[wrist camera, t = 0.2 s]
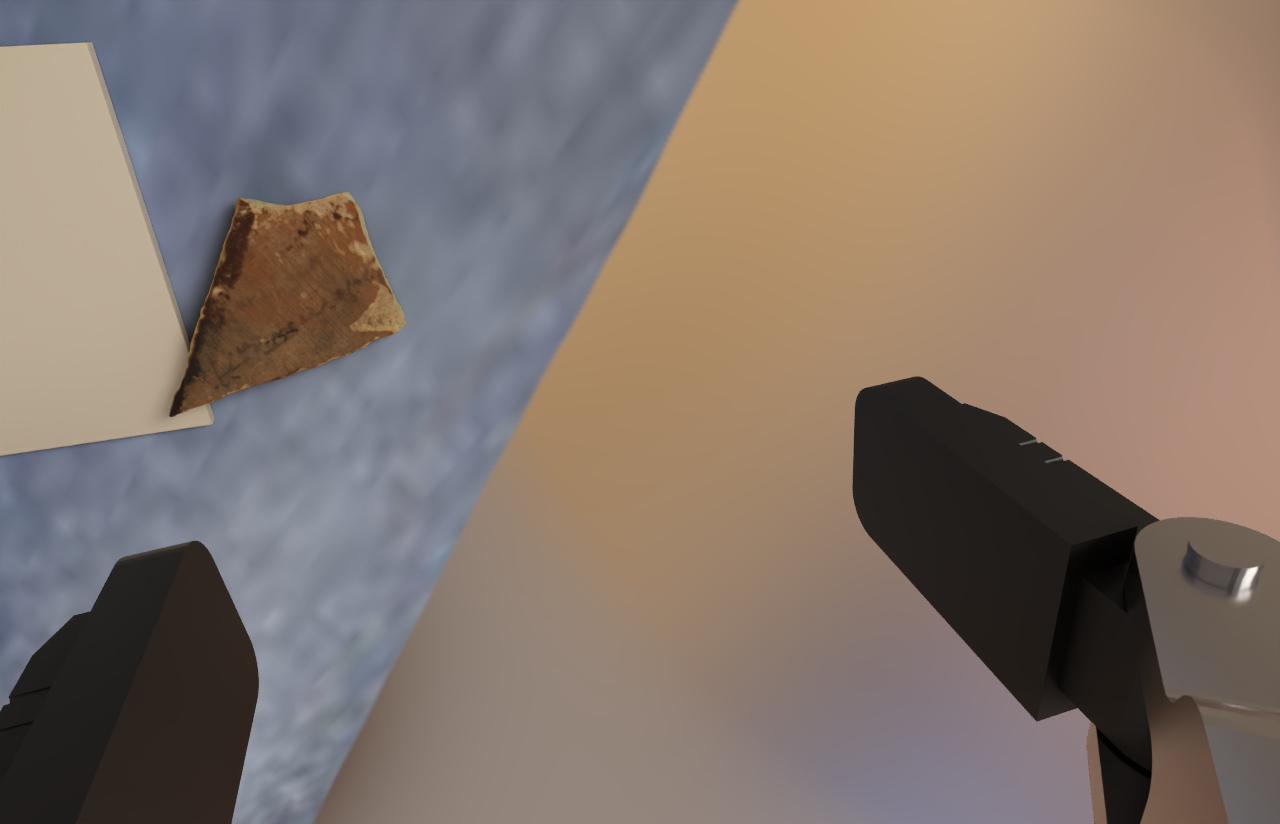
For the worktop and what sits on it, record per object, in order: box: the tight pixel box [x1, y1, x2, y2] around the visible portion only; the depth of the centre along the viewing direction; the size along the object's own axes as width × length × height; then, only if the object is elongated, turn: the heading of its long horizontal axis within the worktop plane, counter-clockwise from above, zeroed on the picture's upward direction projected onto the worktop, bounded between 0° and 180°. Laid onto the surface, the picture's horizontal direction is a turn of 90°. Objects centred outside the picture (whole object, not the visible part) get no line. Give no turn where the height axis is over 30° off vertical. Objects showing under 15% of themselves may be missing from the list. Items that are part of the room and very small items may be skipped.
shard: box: [169, 192, 406, 417], centre depth 34 cm, size 11×8×2 cm
